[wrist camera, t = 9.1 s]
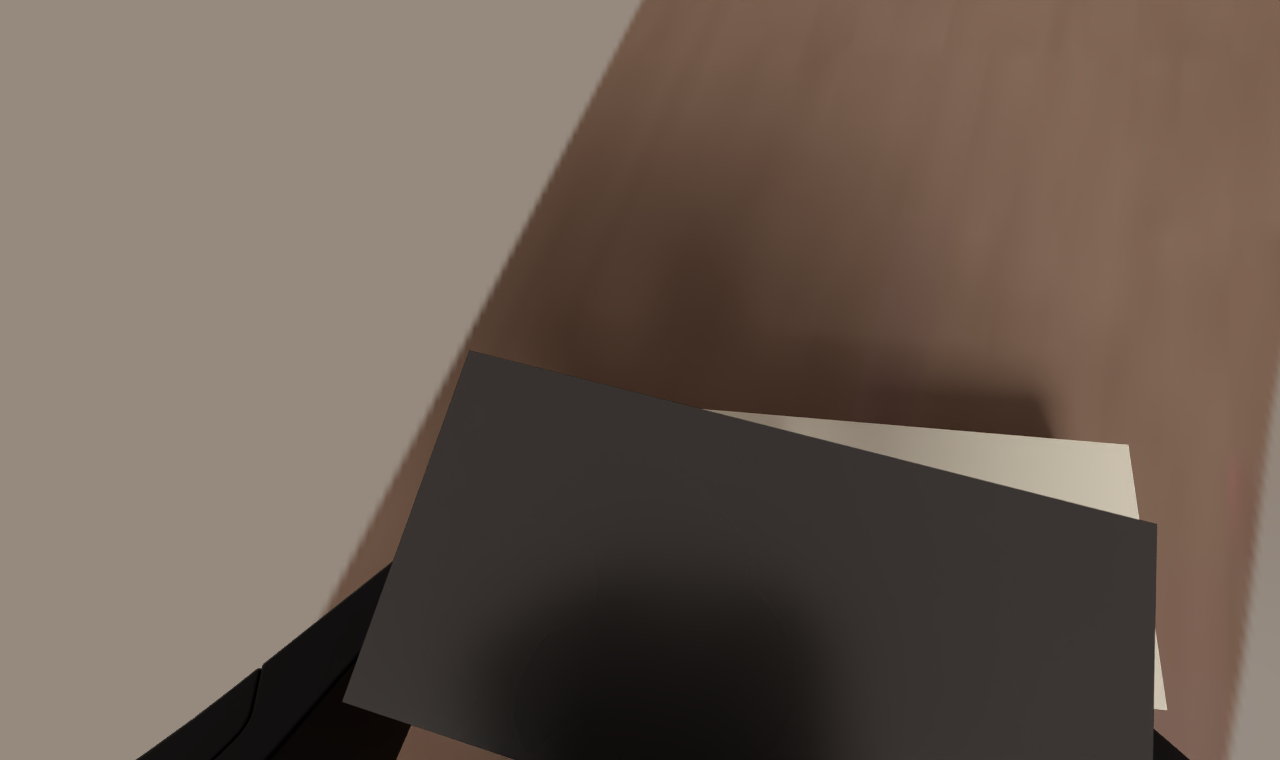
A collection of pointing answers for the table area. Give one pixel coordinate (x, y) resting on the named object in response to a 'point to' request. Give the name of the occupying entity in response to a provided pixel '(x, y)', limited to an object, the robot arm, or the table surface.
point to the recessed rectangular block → (994, 465)
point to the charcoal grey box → (745, 594)
